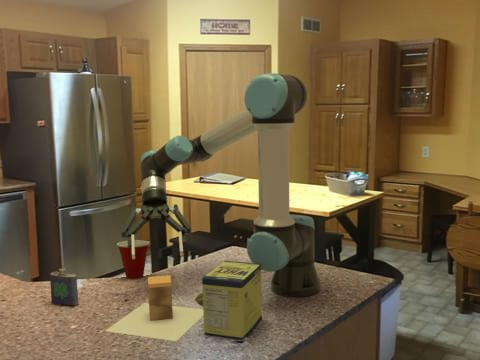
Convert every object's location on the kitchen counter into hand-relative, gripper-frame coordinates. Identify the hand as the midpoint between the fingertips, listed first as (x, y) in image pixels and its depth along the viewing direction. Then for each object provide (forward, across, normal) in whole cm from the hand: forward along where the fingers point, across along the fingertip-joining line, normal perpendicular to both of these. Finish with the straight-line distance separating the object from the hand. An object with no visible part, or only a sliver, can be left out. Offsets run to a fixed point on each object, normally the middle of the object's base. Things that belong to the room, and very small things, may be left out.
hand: (157, 255), depth 150 cm
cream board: (+20, +1, -1) cm, 20 cm away
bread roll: (+13, -17, -8) cm, 23 cm away
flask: (+5, +28, -16) cm, 32 cm away
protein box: (+26, -18, +4) cm, 32 cm away
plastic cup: (-9, +8, -31) cm, 33 cm away
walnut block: (+17, 0, -2) cm, 17 cm away
